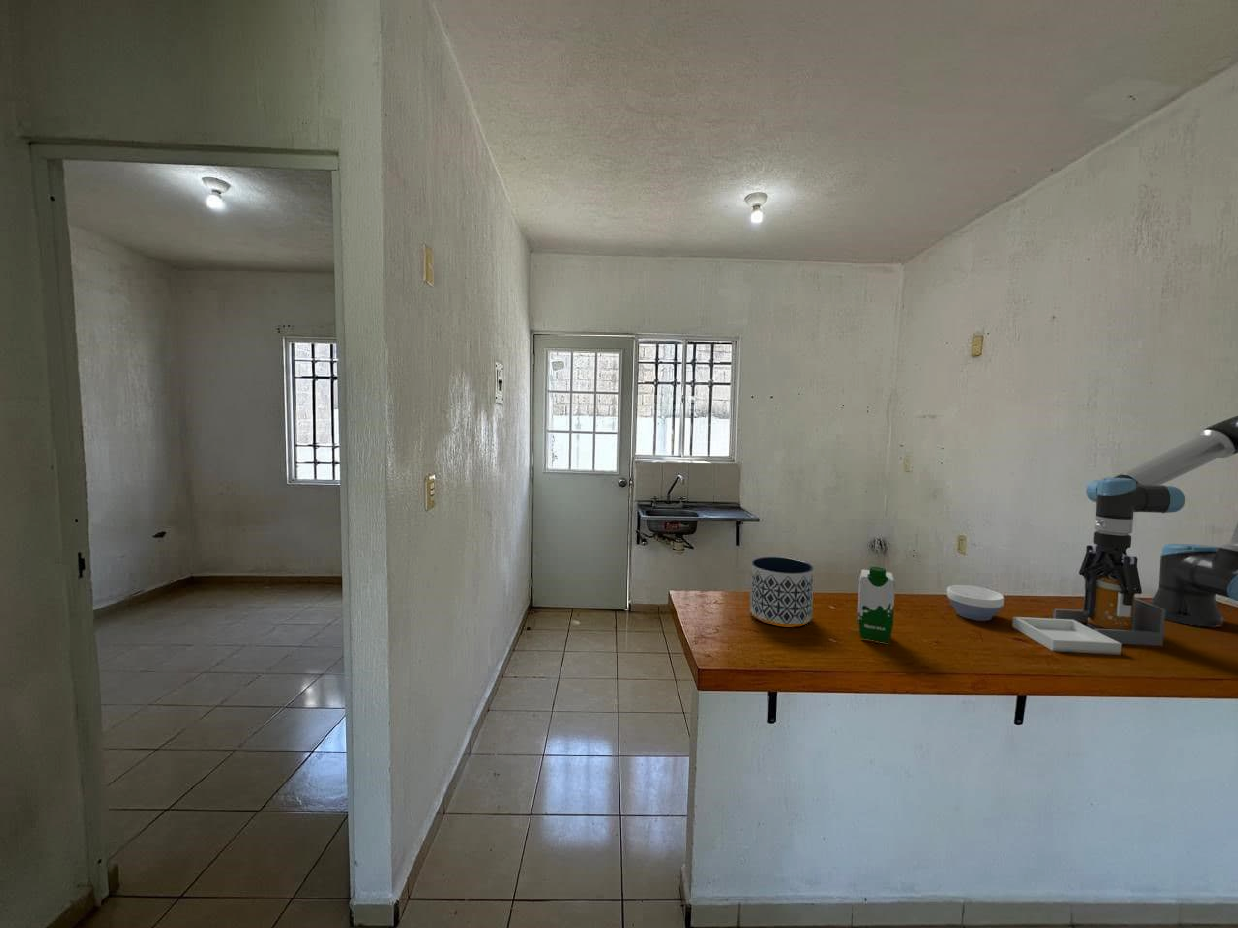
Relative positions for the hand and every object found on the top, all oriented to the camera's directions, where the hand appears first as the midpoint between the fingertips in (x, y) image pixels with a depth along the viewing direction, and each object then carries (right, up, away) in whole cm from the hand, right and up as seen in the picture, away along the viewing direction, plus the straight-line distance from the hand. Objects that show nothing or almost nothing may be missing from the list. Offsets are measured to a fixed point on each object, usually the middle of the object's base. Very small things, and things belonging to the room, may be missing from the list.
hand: (1106, 608), depth 142 cm
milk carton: (-69, -7, -4) cm, 69 cm away
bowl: (-29, -6, +12) cm, 32 cm away
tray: (-17, -7, -5) cm, 19 cm away
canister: (0, -7, +1) cm, 7 cm away
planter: (-90, -6, +11) cm, 91 cm away
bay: (0, -7, 0) cm, 7 cm away
